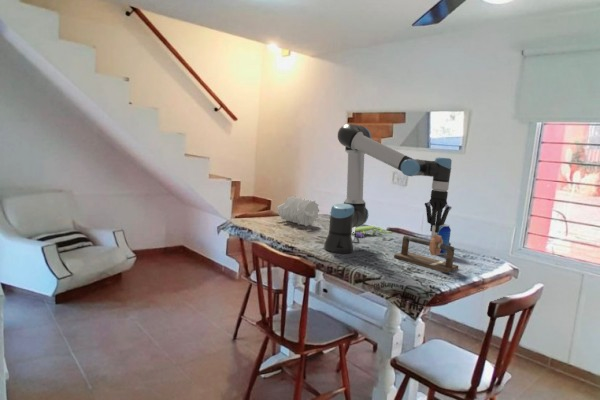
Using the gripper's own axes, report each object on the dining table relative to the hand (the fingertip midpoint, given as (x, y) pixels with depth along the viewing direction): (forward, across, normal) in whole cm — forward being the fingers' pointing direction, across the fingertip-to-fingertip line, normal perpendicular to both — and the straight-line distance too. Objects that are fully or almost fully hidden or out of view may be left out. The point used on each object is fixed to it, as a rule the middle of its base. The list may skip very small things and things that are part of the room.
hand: (433, 238), depth 207 cm
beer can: (+13, +9, -26) cm, 30 cm away
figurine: (+13, +56, -26) cm, 64 cm away
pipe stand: (+13, +3, 0) cm, 13 cm away
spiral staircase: (+13, +100, -7) cm, 101 cm away
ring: (+7, -2, 0) cm, 8 cm away
